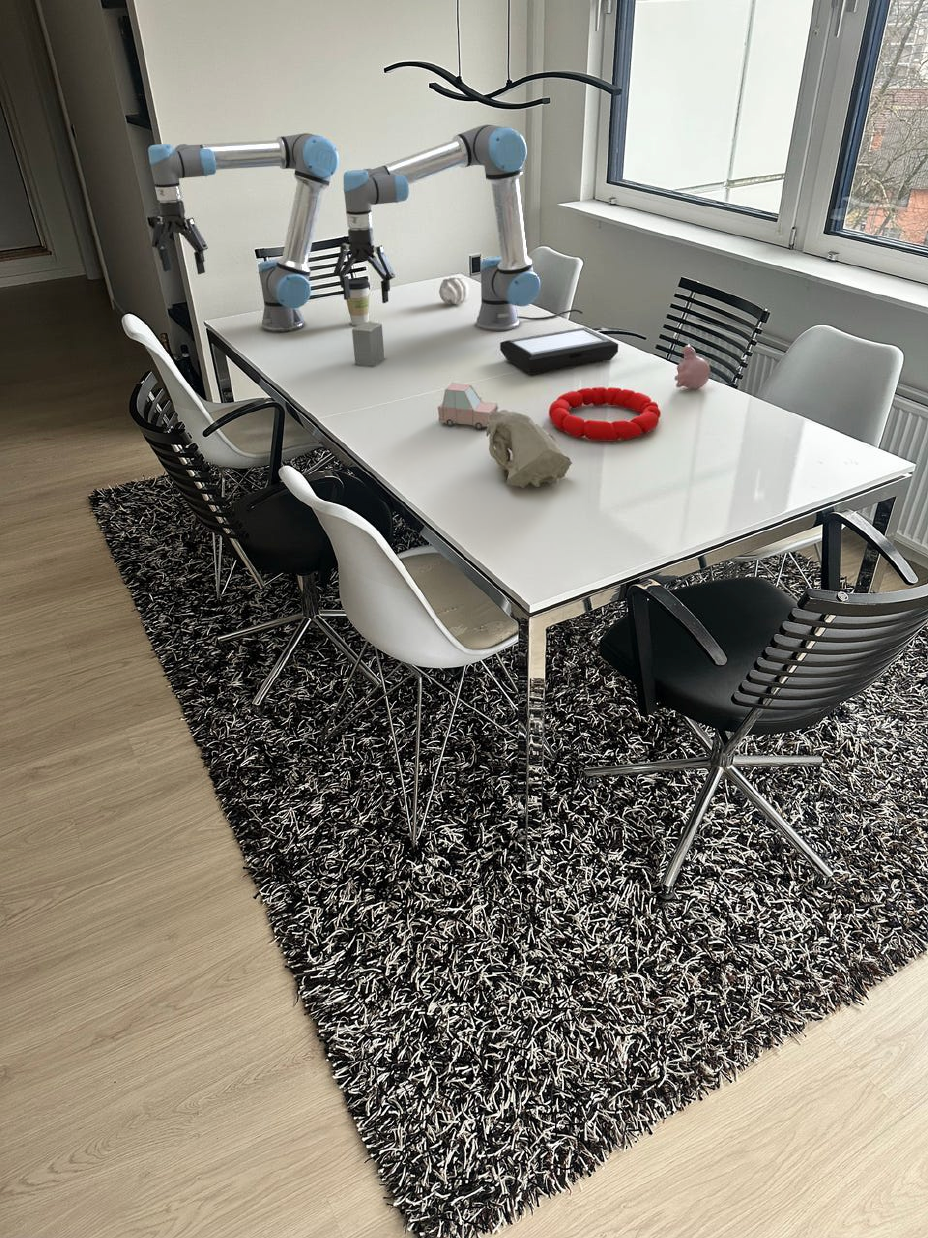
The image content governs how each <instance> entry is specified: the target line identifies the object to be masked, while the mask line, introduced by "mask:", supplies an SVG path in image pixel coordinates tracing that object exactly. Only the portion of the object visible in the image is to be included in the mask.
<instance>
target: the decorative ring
mask: <svg viewBox="0 0 928 1238" xmlns="http://www.w3.org/2000/svg"><path fill="white" fill-rule="evenodd" d="M583 405H584V406H586V407H587V406H591V405H593V406H604V405H608V406H614V407H619V408H624V409H628V410H632V411H635V412H636V413H638V414H639V415H637V416H635V417H632V418H631V419H630V420H625V419H624V420H623V419H622V420H614V421H611V422H609V421H607V420H606V421H605V420H593V419H587V420H586V421H585V419H584V418H582V417H579V416H577V415H573V414H571V413H570V410H571V409H579V408H581V407H582V406H583ZM548 416H549V419H550V422H551V423H552V425H553V426H554V427H555V428H556V429H558V430H559V431H561V432H563V433H567V434H568V435H569V436H573V437H576V438H580V439H582V438H583V437H585V438H586V439H587V440H591V441H601V442H602V441H603V442H608V441H609V442H610V441H611V442H612V441H615V442H616V441H618V440H630V439H634V438H638V437H641V436H642V434H647V433H650V432H651V431H653V430H654V429H655V428H656V427H657V426H658V424H659V422H660V421H659V420H660V417H661V410H660V408H659V405H658V403H657V402H656V401H652V399H651V397H649V396H648V395H646V394H644V393H642V392H635V391H634V390H632V389H628V388H624V389H622V388H620V387H613V386H612V387H611V386H610V387H608V388H606V387H604V386H594V387H585V388H584V387H583V388H580V389H578V390H571V391H568V392H565V393H563V394H561V395H560V396H558V397H557V398H556V400H554V401H552V403H551V404H550V407H549V409H548Z"/></svg>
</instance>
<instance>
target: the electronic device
mask: <svg viewBox="0 0 928 1238" xmlns="http://www.w3.org/2000/svg"><path fill="white" fill-rule="evenodd" d="M499 350H500V353H502V355H503V356H504V358H505V359H506V360H507V361H508V362H510V363H511V364H512V365H515V366H517V367H518V368H520V369H521V370H523V371H525V372H526V373H528V374H529V375H530V376H532V375H535V374H542V373H547V372H548V373H549V372H552V371H558V370H564V369H570V368H575V367H580V366H586V365H592V364H597V363H602V362H608V361H611V360H612V359H613V358H614V357H615V356H616V355H617V354H618V352H619V343H617V342H616V341H613V340H612V339H609V338H607V337H605V336H603V335H601V334H599V333H597V332H595V331H594V330H591V329H589V328H587V327H585V326H584V327H579V328H572V329H566V330H561V331H555V332H549V333H543V334H537V335H532V336H525V337H519V338H514V339H508V340H505V341H502V342H499Z"/></svg>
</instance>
